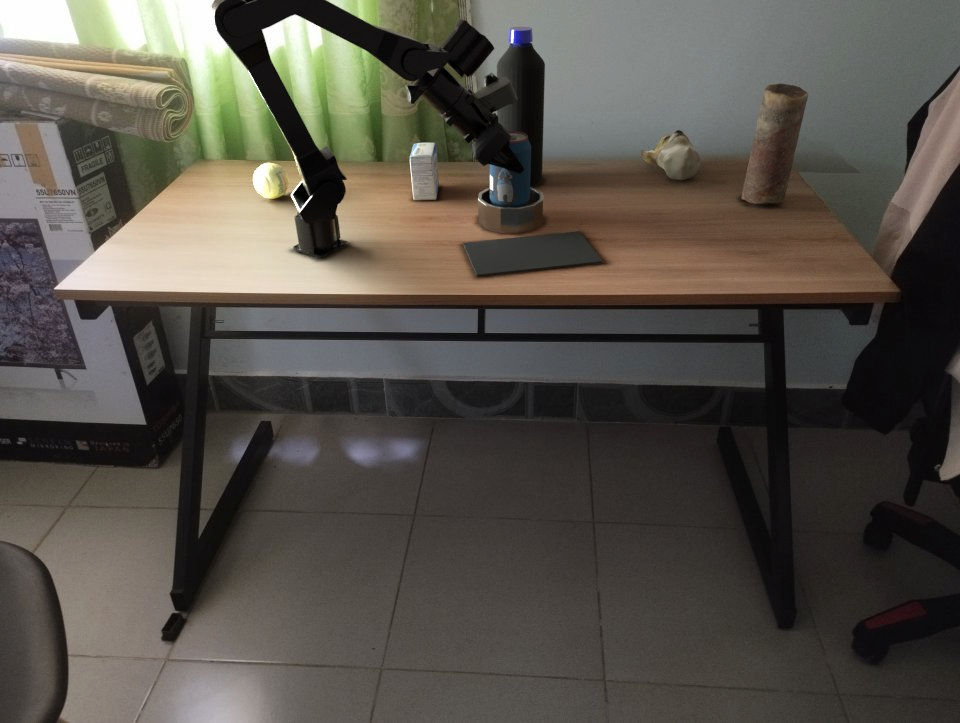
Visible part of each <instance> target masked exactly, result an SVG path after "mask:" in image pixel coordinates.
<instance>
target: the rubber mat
mask: <svg viewBox="0 0 960 723" xmlns="http://www.w3.org/2000/svg"><path fill="white" fill-rule="evenodd" d="M462 245H463V248H464V250H465V253H466V255H467V257H468V260H469V262H470V264H471V266H472V269H473V271H474V273H475V275H476V277H477V278H480V277H490V276H499V275H510V274H516V273H517V274H518V273H526V272H527V273H528V272H535V271H545V270H555V269H564V268H570V267H571V268H572V267H580V266H590V265H600V264H603V260H602V258H601V257H600V256H599V255H598V253H597V252H596V251H595V249H594V248H593V247H592V246H591V244H590V243H589V241H588V240H587V239H586V238H585V237H584V235H583V234H582V233H581V231H580V230H575V231H565V232H557V233H547V234H538V235H536V234H535V235H526V236H516V237H508V238H498V239H488V240H479V241H468V242H463V243H462Z"/></svg>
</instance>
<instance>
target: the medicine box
mask: <svg viewBox="0 0 960 723" xmlns="http://www.w3.org/2000/svg"><path fill="white" fill-rule="evenodd" d="M409 165H410V166H409V167H410V176H411V177H410V178H411V189H412V190H411V191H412V199H413V200H414V201H436V200H437V196H438V192H439V185H440V184H439V183H440V182H439V167H438V166H439V165H438V151H437V143H436V142H416V143H413V146H412V149H411V153H410V156H409Z"/></svg>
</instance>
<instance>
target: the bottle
mask: <svg viewBox="0 0 960 723" xmlns="http://www.w3.org/2000/svg"><path fill="white" fill-rule="evenodd" d="M508 34H509V35H508V42H509V46H508V48H507V50H505V52H504V53H503V54H502V56H500V58H499V59H498V60H497V63H496V77H498V78H499V79H500V77H501V76H503V77H507V78H508V79H509V80H510V82H511V84H512V87H513V89H514V91H515V94H516V96H517V98H518V100H517V101H516V102H515V103H513V104H508V105H507V106H505V107H503V108H501V109H499V110H497V111H496V115H497V116H498V123H500V124H501V125H502V126H503V127H504V128H505V129H506V130H507V131H517V132H522V133H525V134H527V135H528V140H529V143H530V145H531V173H530V187H533V188H534V187H536V186H538V185H539V184H541V183H542V182H543V158H544V157H543V156H544V155H543V153H544V119H545V118H544V116H545V83H546V82H545V79H546V78H545V77H546V76H545V75H546V63H545V61H544V59H543V57H541V55H540V54H539V52H537V51H536V49H535V48H534V45H533V43H532V42H533V28H532V27H530V26H513V27H510V28H509V31H508Z"/></svg>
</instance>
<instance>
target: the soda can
mask: <svg viewBox="0 0 960 723" xmlns="http://www.w3.org/2000/svg"><path fill="white" fill-rule="evenodd" d="M508 132H509V134H510V135H511V138H510V143H509V147H510V148H511V150H512V151H513V153H514V154H515V155H516V157H517V158H518V160H519V161H520V163H521V164H522V165H523V167H524V171H523V172H522V173H517V172H513V171H510V170H507V169H504V168H501V167H497V166H494V165H490V164H489V188H490V200H491V202H492V203H493V205H495V206H499V207H521V206H526V204H527V203H528V201H529V199H530V173H531V145H530V143H529V140H528V135H527V134H525V133H522V132H517V131H508Z"/></svg>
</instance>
